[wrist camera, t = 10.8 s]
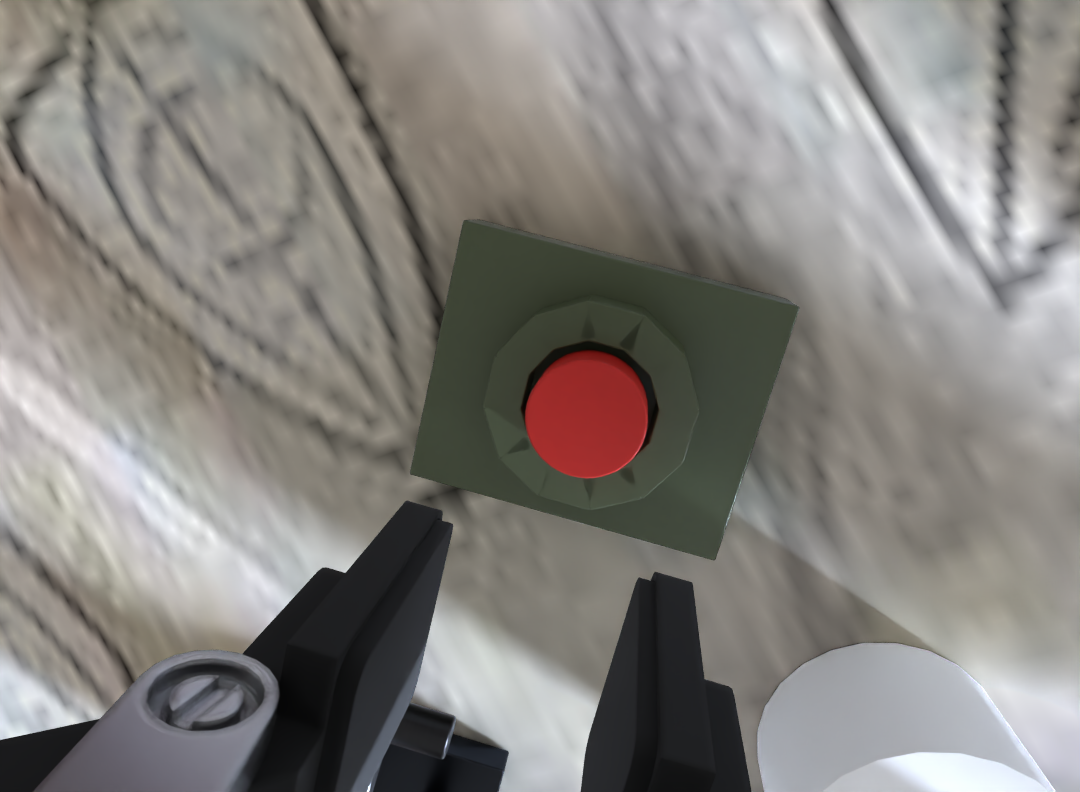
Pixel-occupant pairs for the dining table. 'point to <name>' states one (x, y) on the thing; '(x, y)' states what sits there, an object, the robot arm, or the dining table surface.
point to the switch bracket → (443, 769)
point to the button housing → (621, 330)
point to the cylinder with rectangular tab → (889, 728)
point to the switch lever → (423, 733)
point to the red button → (587, 414)
